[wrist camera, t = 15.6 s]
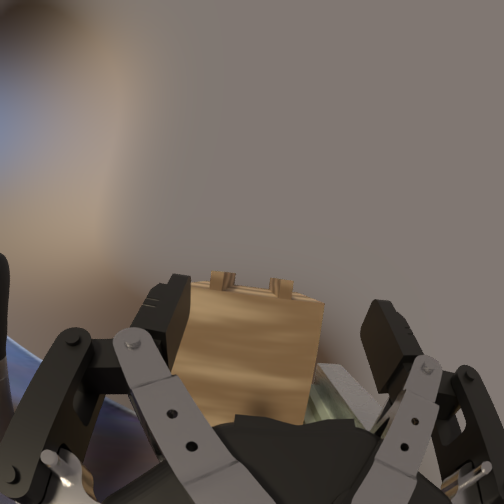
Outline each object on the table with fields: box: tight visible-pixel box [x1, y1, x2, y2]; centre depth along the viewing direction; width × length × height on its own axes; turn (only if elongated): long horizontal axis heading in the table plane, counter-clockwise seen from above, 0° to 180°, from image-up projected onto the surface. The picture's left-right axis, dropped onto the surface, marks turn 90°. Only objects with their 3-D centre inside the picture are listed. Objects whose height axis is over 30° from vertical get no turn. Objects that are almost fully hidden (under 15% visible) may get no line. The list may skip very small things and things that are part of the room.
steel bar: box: [313, 363, 383, 431], centre depth 27 cm, size 24×4×4 cm, turn 179°
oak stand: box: [171, 271, 325, 427], centre depth 29 cm, size 15×12×36 cm
